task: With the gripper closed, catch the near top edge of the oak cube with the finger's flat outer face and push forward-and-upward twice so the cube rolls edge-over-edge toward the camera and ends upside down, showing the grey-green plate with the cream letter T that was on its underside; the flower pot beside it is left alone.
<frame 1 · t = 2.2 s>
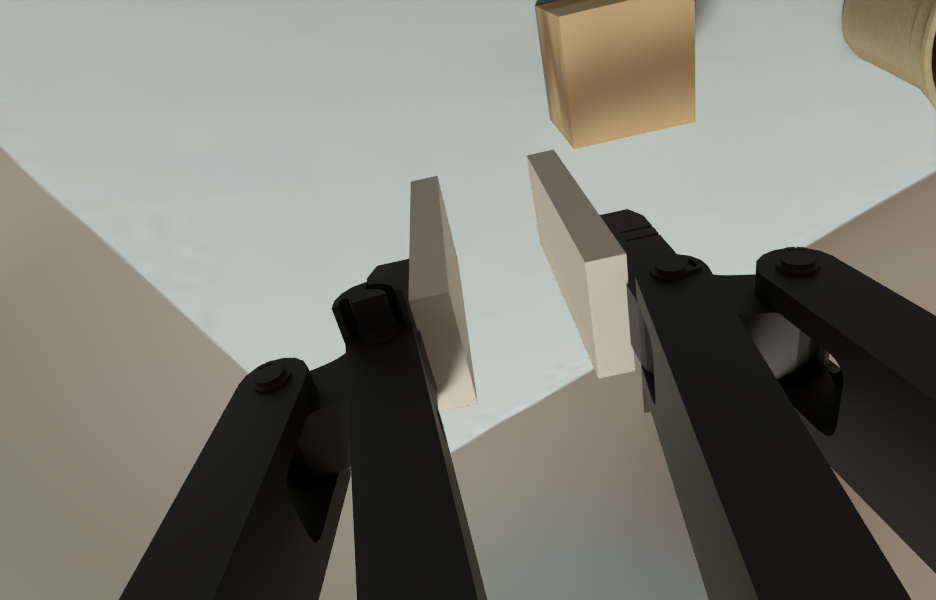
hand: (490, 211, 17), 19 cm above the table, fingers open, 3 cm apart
flower pot: (894, 2, 33), on the table
letter cube: (596, 52, 33), on the table
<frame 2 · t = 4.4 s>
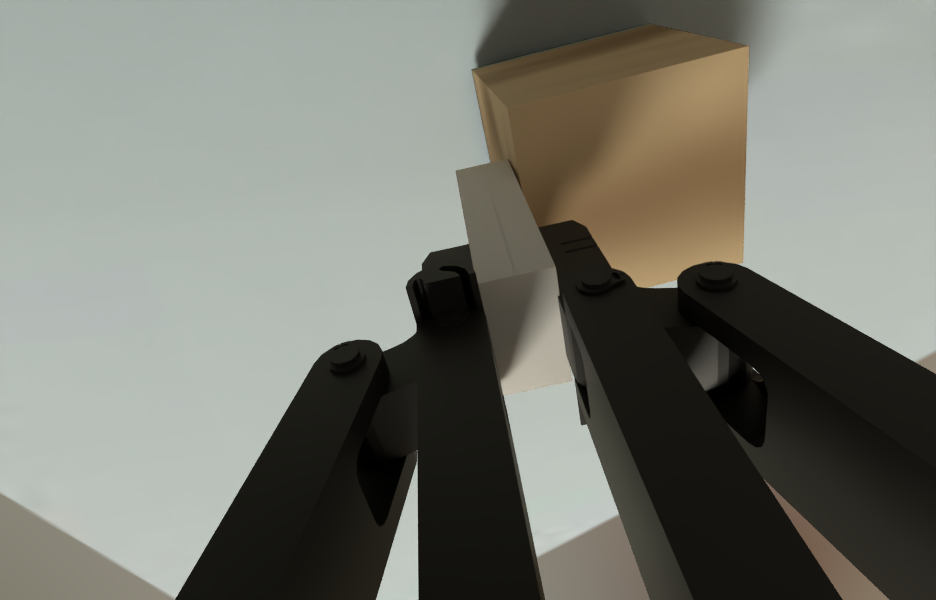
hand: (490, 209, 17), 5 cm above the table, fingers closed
letter cube: (571, 136, 21), on the table, touching gripper
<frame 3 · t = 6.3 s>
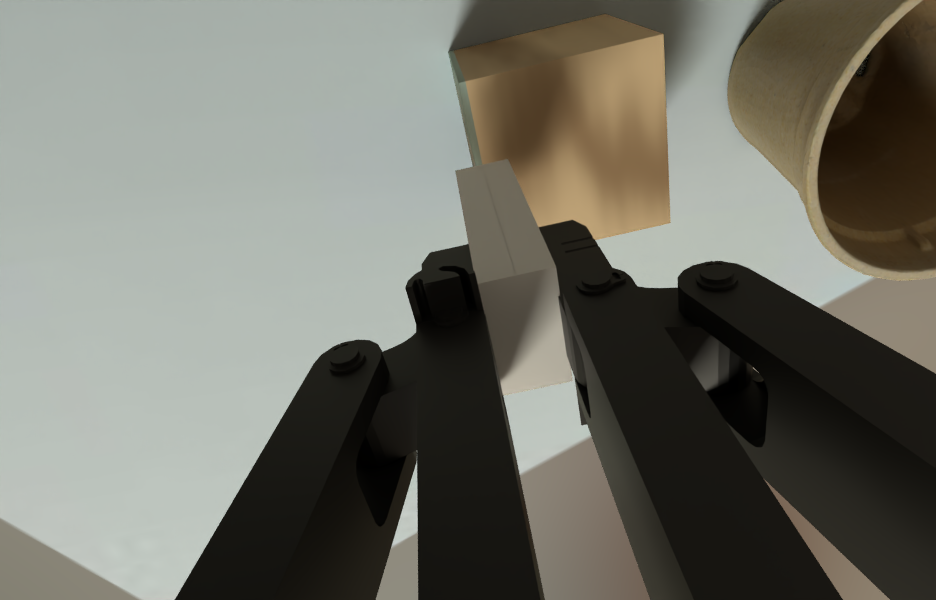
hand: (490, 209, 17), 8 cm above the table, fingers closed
flower pot: (799, 73, 24), on the table
letter cube: (471, 152, 21), point 3 cm above the table, tilted 90°
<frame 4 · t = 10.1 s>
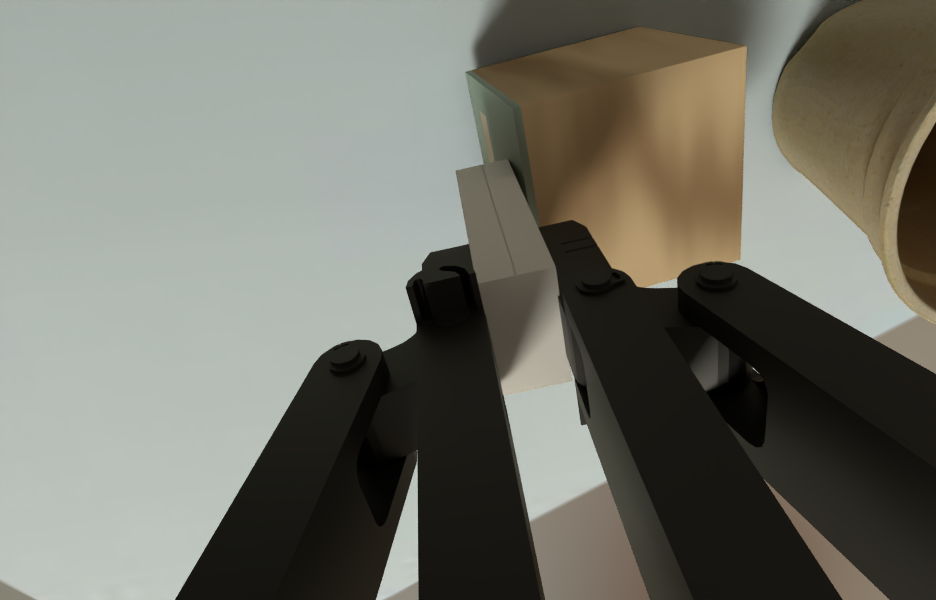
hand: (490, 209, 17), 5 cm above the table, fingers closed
flower pot: (851, 92, 22), on the table
letter cube: (503, 186, 18), point 4 cm above the table, tilted 97°, touching gripper
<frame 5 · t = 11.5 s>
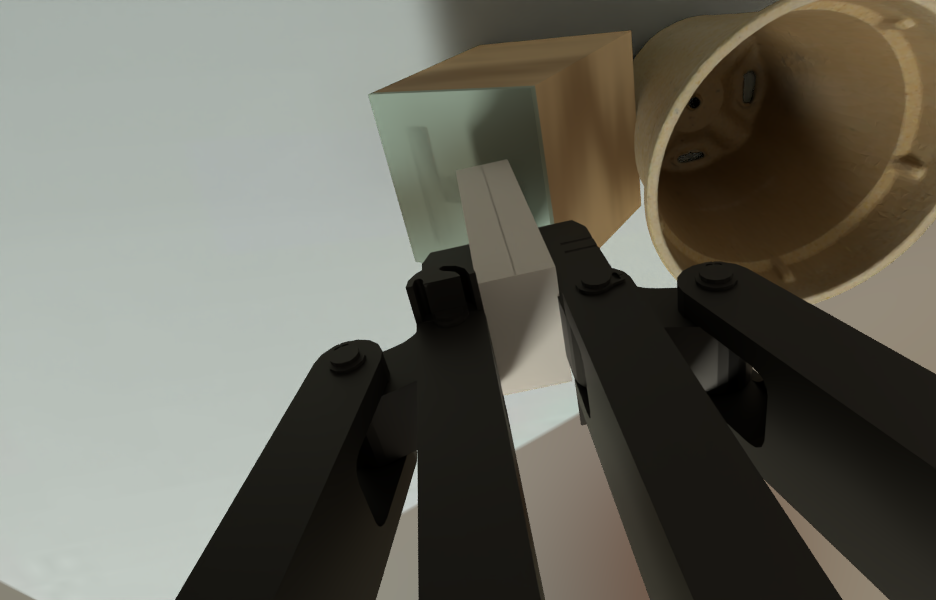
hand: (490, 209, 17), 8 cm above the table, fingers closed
flower pot: (688, 100, 24), on the table, touching letter cube
letter cube: (462, 190, 18), point 6 cm above the table, tilted 138°, touching flower pot, gripper
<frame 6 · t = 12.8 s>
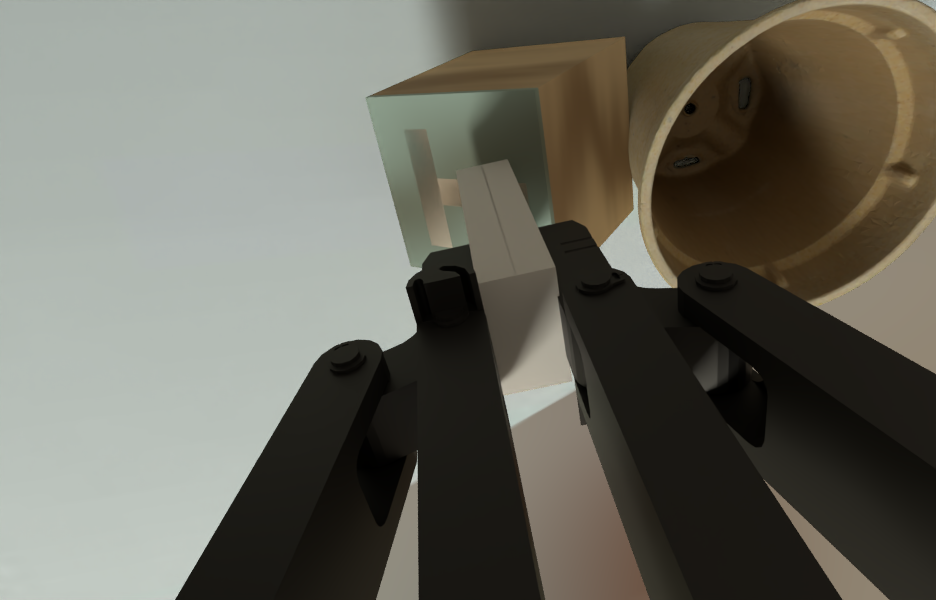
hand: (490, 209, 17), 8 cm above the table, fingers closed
flower pot: (683, 106, 24), on the table, touching letter cube
letter cube: (461, 193, 18), point 7 cm above the table, tilted 141°, touching flower pot, gripper
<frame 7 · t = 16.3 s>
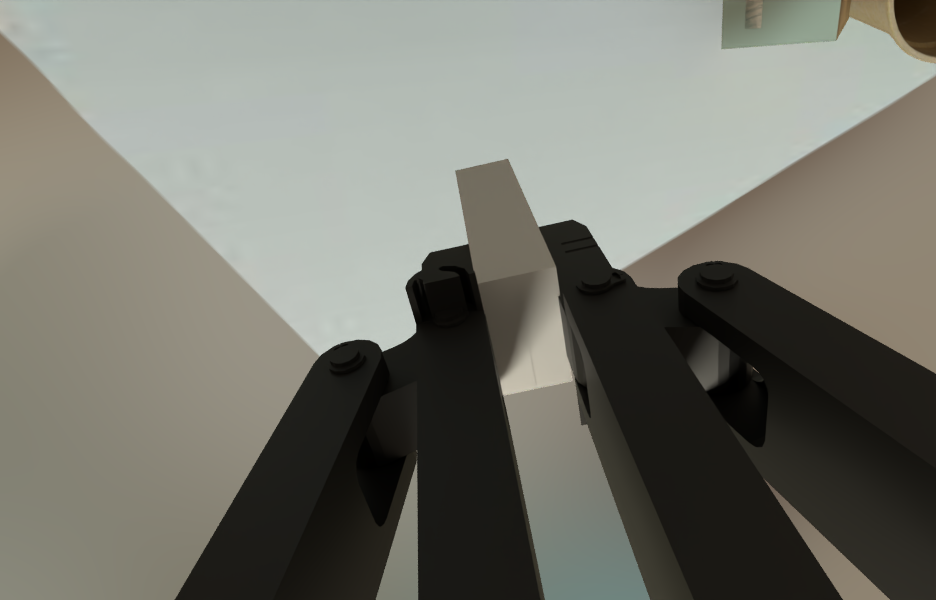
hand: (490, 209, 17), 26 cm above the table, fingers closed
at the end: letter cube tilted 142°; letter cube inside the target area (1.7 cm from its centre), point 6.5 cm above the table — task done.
